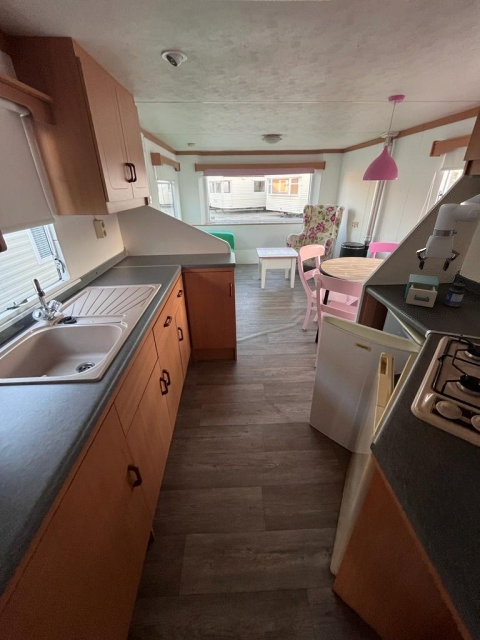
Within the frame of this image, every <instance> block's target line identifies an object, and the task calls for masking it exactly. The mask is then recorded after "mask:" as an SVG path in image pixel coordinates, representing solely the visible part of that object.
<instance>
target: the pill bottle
mask: <svg viewBox="0 0 480 640" xmlns="http://www.w3.org/2000/svg"><path fill="white" fill-rule="evenodd" d="M465 288H466V284H464V283H462V282H453V283H452V287H449V289H448V292H447V295H446V298H445V300H444V305H445V306H447V307H450V308H459V307H460V306H461V303H462V301H463V298H464V295H465V294H466V291H465Z"/></svg>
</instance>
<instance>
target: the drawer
mask: <svg viewBox="0 0 480 640" xmlns="http://www.w3.org/2000/svg"><path fill="white" fill-rule="evenodd" d="M438 293H439V292H438V291H437V292H436V291H435V286H429V285H421V284H413V283H411V286H410V289H409V292H408V296H407V299H405V304H408V305H415V306H422V307H428V308H433V307H434V306H435V302H436V298H437V295H438Z"/></svg>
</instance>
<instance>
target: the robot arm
mask: <svg viewBox="0 0 480 640" xmlns="http://www.w3.org/2000/svg"><path fill="white" fill-rule="evenodd" d="M479 220H480V193H478V194H476V195H475V196H473V197H471V198H468V199H467V200H465V201H463V202H461V203H444V204H442V205H441V206H440V207H439V210H438V213H437V217H436V221H435V225H434V228H433V232H432V235H429V237H428V240H427V242H426V244H425V247H424V248H422V249H419V250H417V251H415V254H416V257H417V259H418V260H419V264H418V268H419V269H420V270H421V271H423V269H424V267H425V263H426V262H425V261H426V260H427V259H440V260H443V259H445V261H444V263H443V267H442V270H443V272H447V270H448V269H449V267H450V264H451V263H452V262H453V261H454V260H456V259H457V258H458V257H459V256H460V254H461V253H460V252H458V251H456V250H455V249H453V248H454V242H455V236H454V235H457V234H458V233H459V232H458V230H455V229H456V225H457V223H458V222H462V223H463V222H464V223H474V222H477V221H479ZM422 253H423V255H422V256H421V254H422ZM452 254H453V255H452Z"/></svg>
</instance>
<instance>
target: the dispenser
mask: <svg viewBox="0 0 480 640" xmlns="http://www.w3.org/2000/svg"><path fill="white" fill-rule="evenodd" d="M411 283H413V284H421V285H429V286H435V291H436V292H438V289H439V286H440V284H439V283H440V282H439V278H438V276H432V275H425V274H415V273H410V274H409V276H408V280H407V284H406V288H405V293H404V300H406V299H407V296H408V292H409V289H410V286H411Z"/></svg>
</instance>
